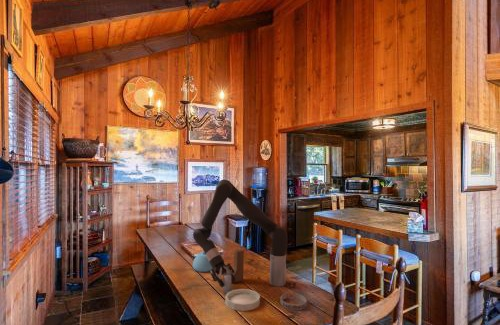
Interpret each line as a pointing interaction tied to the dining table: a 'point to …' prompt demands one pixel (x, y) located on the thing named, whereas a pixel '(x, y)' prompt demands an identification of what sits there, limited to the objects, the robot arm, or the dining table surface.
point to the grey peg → (227, 283)
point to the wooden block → (238, 265)
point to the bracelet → (292, 306)
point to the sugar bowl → (202, 263)
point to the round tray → (242, 299)
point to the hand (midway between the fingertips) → (228, 284)
